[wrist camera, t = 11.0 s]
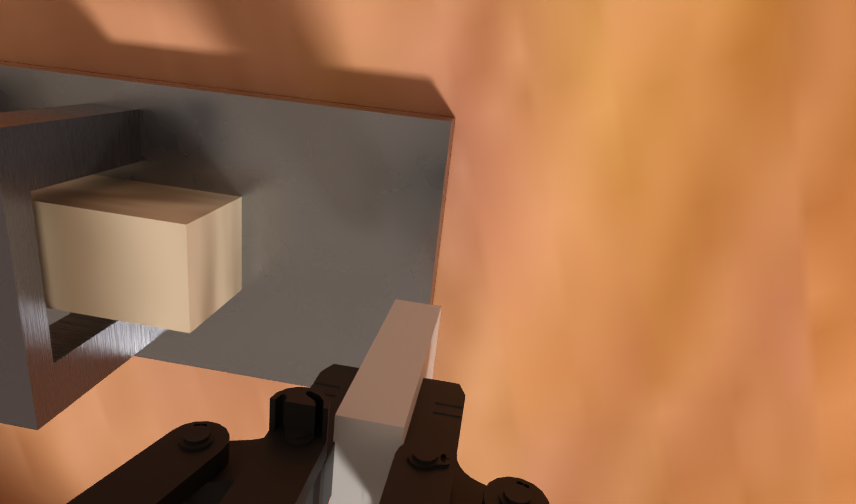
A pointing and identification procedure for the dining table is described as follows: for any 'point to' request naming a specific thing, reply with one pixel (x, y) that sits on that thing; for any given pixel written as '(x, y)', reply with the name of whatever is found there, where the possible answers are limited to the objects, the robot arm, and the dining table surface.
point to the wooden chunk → (138, 250)
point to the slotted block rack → (261, 224)
